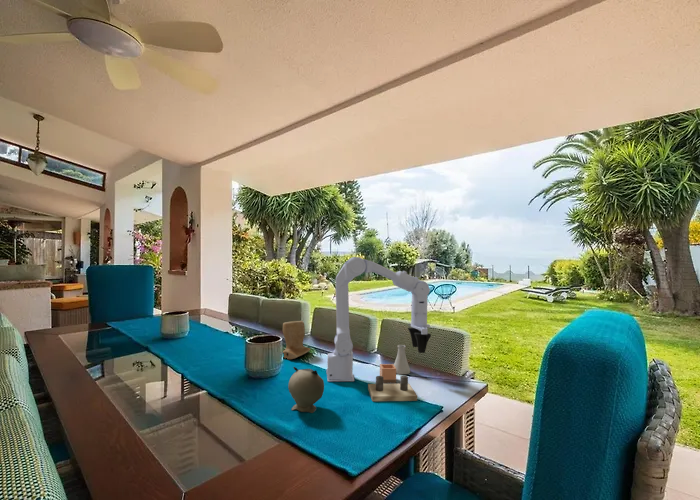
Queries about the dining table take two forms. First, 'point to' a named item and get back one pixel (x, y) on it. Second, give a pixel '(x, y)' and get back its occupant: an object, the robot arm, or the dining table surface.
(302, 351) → the tan wooden stand
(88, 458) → the dining table surface
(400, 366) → the flask
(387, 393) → the pin board
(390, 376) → the sleeve
